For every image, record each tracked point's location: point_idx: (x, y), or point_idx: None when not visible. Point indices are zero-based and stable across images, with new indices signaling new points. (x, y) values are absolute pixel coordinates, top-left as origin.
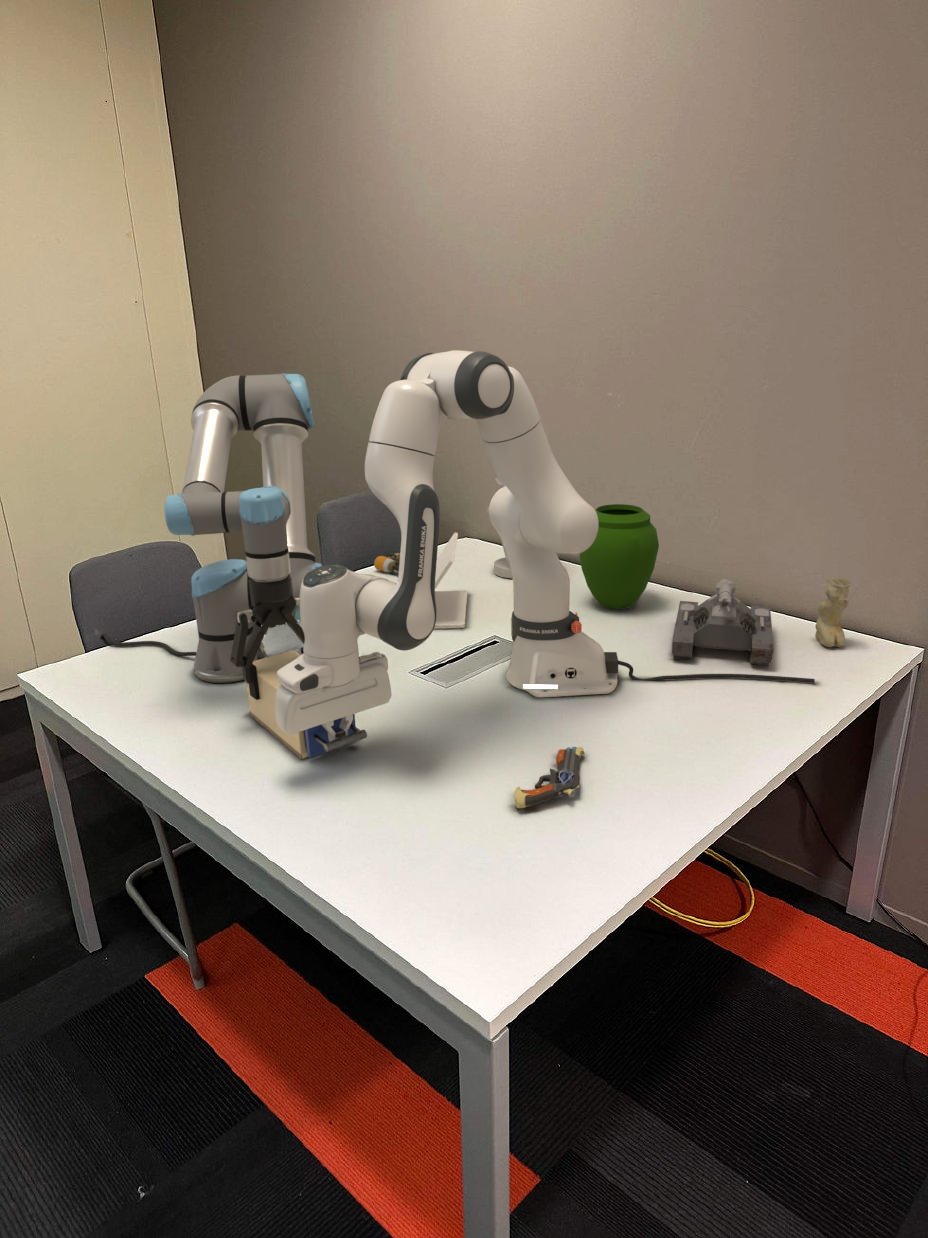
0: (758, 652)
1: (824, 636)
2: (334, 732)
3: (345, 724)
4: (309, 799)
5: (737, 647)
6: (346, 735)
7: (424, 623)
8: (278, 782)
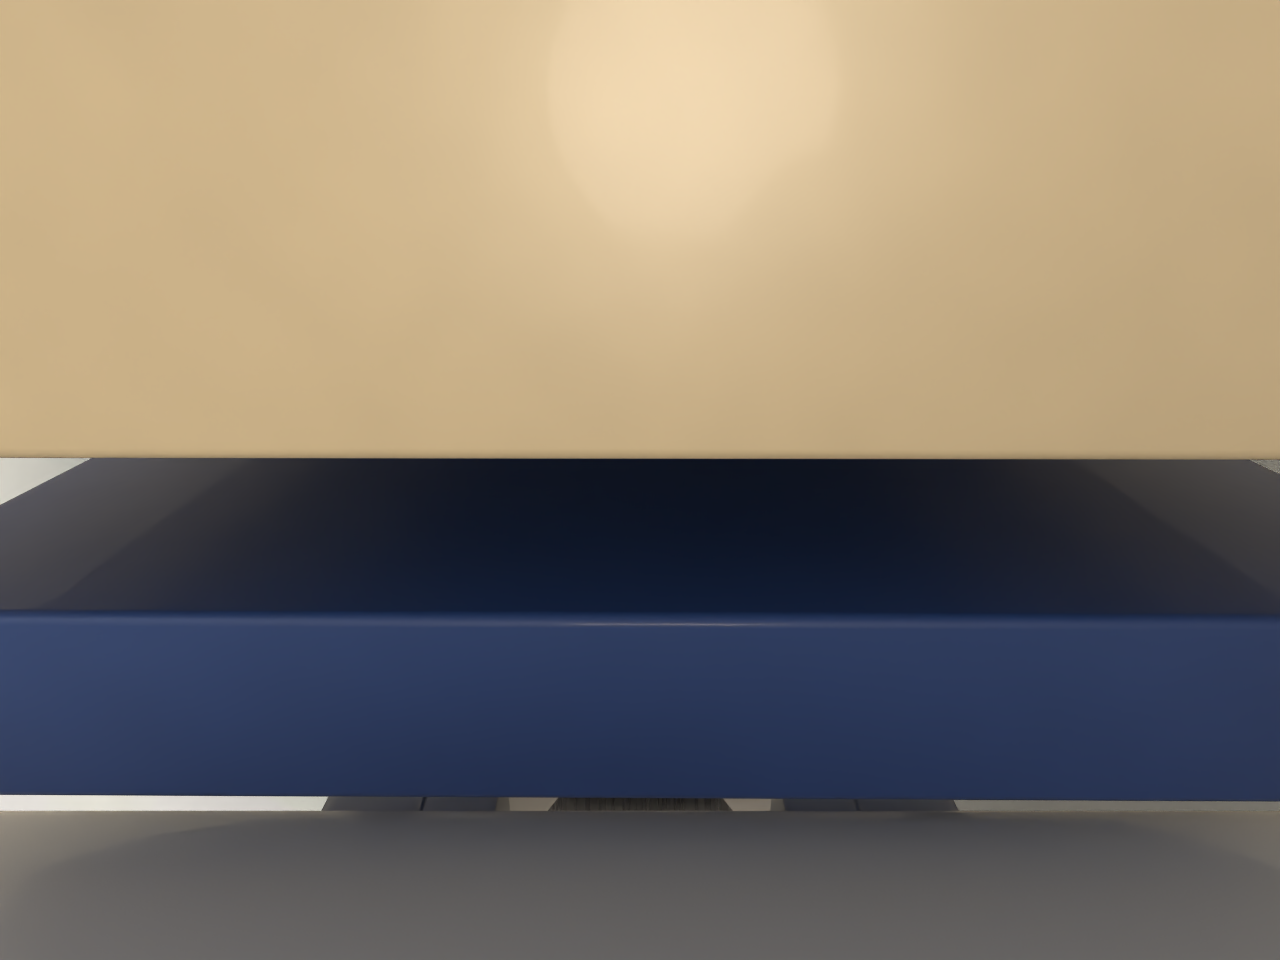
0: None
1: None
2: (543, 806)
3: (763, 810)
4: (210, 805)
5: None
6: (690, 809)
7: None
8: (34, 478)
